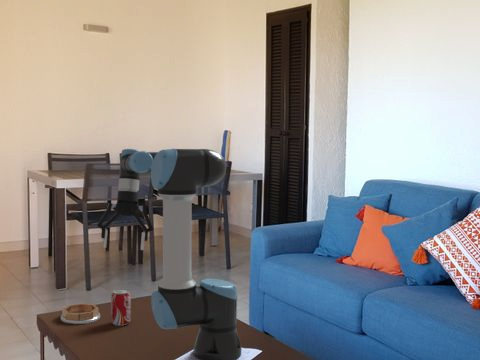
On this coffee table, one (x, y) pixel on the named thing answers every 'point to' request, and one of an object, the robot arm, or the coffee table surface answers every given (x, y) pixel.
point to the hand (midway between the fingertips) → (123, 249)
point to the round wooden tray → (80, 314)
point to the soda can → (120, 307)
